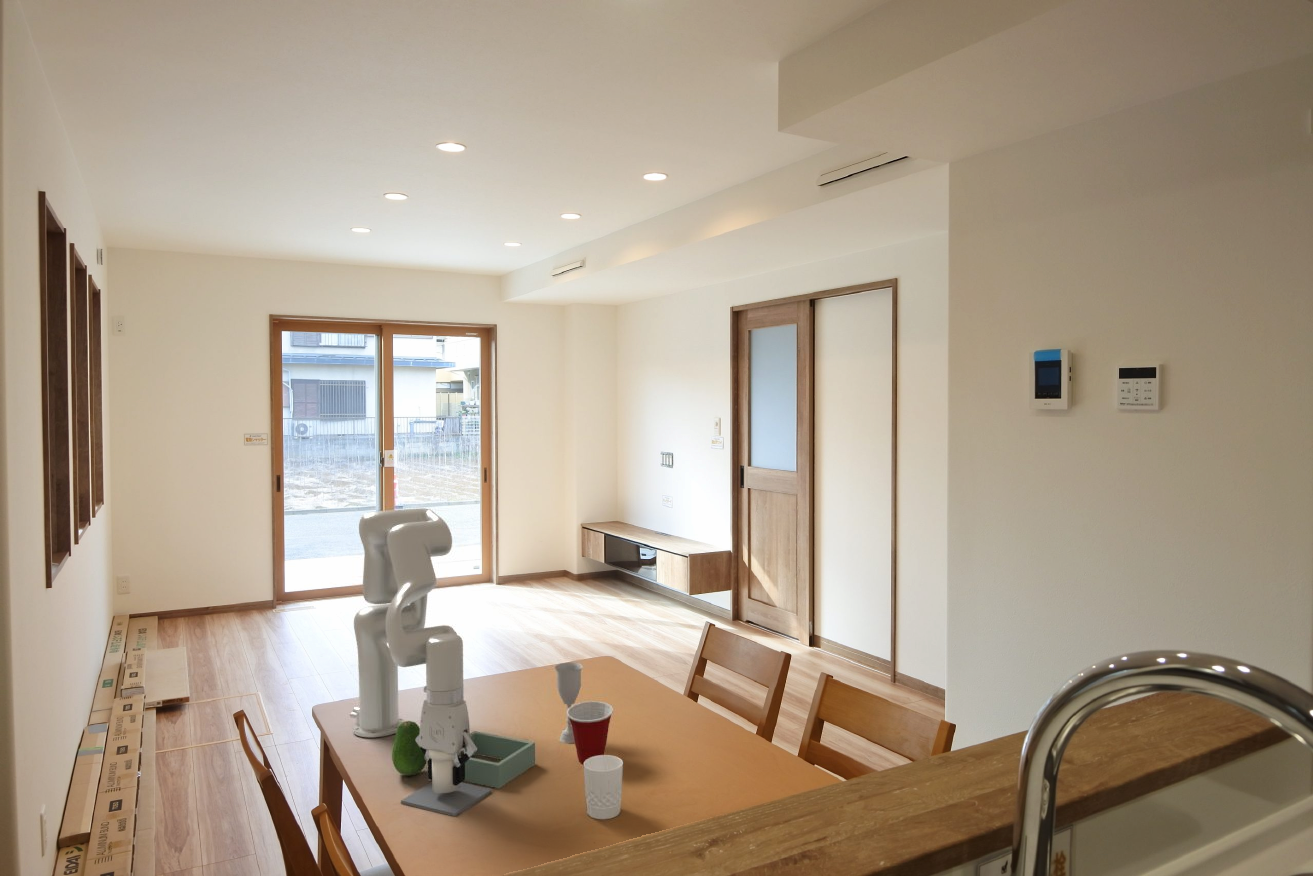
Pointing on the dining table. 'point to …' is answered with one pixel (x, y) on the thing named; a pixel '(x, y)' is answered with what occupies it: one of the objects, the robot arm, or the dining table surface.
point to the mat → (446, 799)
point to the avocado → (407, 750)
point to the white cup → (603, 786)
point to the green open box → (510, 750)
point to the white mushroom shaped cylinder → (443, 772)
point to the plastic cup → (590, 727)
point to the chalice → (568, 691)
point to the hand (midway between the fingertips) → (446, 779)
